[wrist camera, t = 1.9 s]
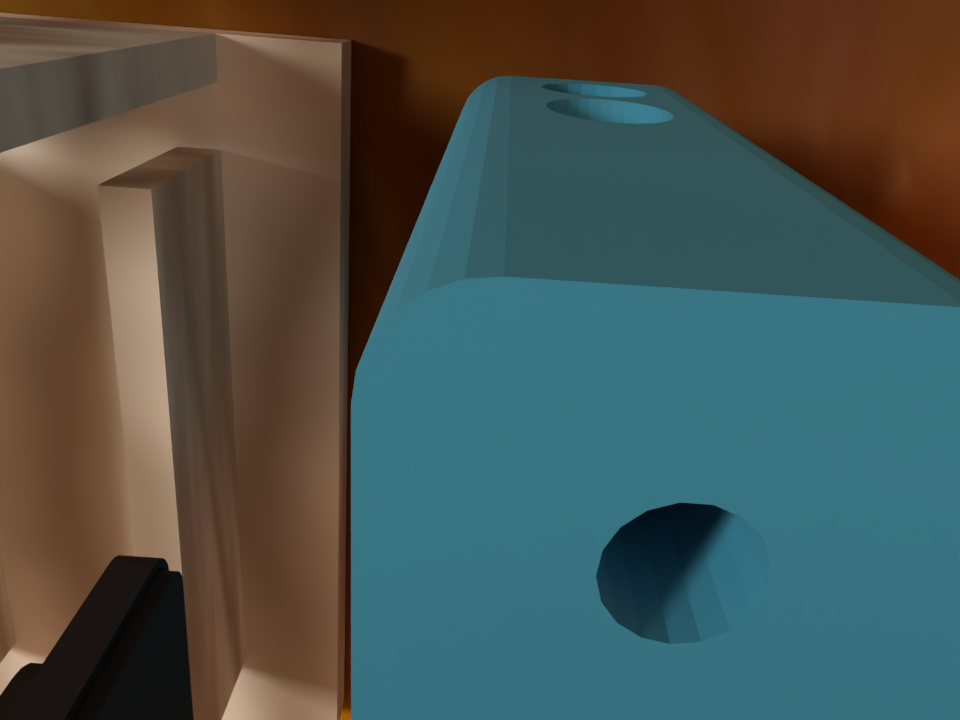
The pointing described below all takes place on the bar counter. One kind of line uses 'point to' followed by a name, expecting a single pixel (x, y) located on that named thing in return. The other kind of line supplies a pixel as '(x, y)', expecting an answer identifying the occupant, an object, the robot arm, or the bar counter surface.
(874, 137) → the bar counter surface
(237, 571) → the book stand
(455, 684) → the block
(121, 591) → the robot arm
